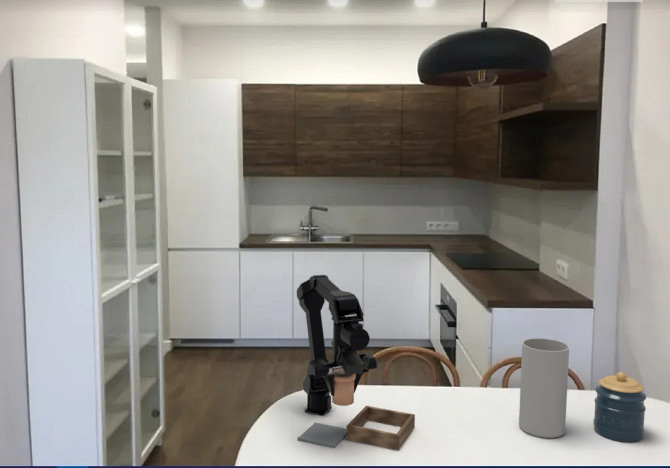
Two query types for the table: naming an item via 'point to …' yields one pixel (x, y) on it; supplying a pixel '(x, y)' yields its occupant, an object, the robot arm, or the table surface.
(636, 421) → the canister
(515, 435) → the table surface
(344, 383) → the terracotta pot
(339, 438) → the slate mat
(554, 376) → the cylinder vase
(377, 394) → the table surface
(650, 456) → the table surface
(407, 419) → the brown wooden square frame
